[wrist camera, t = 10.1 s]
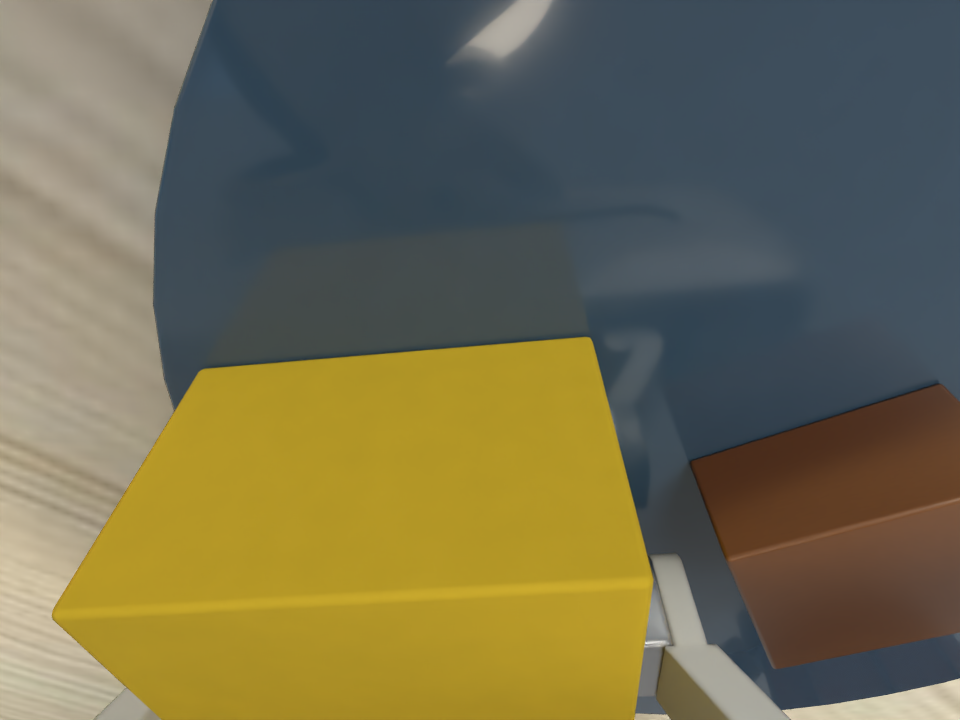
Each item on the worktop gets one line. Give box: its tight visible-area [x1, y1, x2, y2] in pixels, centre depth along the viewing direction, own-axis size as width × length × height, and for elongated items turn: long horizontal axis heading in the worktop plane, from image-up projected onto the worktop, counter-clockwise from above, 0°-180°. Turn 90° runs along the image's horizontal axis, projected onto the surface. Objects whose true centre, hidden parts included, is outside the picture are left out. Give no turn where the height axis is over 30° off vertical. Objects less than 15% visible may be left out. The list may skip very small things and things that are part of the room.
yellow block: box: [52, 337, 654, 720], centre depth 10 cm, size 9×6×4 cm, turn 6°
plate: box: [153, 0, 960, 714], centre depth 11 cm, size 22×22×2 cm
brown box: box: [690, 384, 960, 669], centre depth 10 cm, size 4×4×2 cm
